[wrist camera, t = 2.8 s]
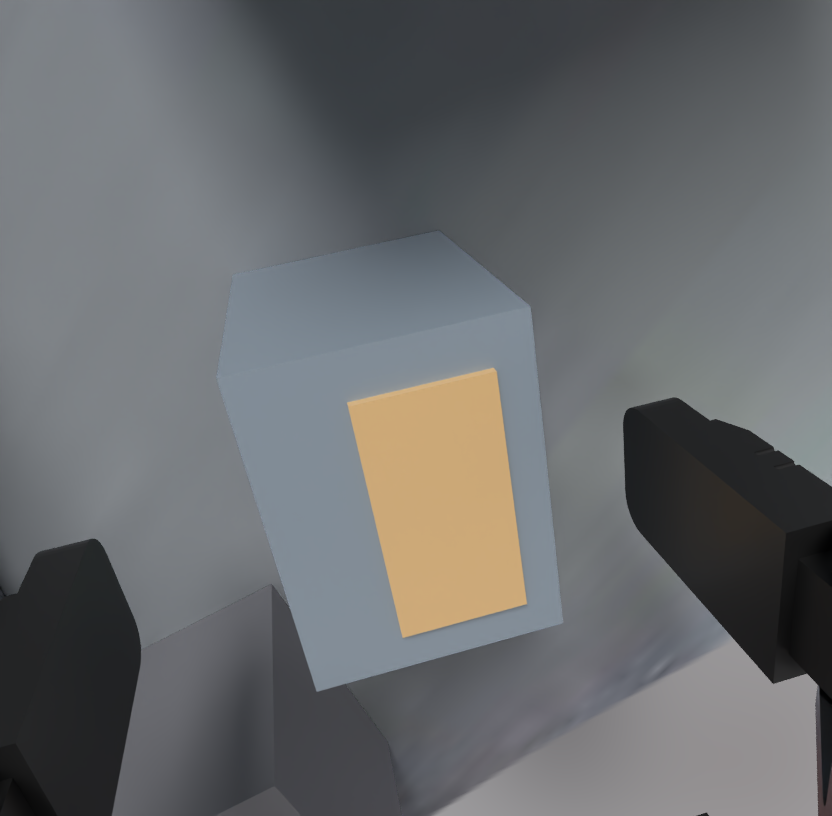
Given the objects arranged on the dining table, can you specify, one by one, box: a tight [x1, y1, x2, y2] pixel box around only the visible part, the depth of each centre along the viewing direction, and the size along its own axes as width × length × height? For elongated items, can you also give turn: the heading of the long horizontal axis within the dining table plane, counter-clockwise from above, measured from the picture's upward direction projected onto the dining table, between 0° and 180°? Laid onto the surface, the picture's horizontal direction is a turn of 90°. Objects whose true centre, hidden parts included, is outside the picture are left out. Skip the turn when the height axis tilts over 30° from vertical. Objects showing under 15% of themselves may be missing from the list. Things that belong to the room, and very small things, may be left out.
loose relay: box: [112, 584, 402, 816], centre depth 17 cm, size 5×7×6 cm
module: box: [216, 230, 563, 692], centre depth 14 cm, size 5×6×6 cm
